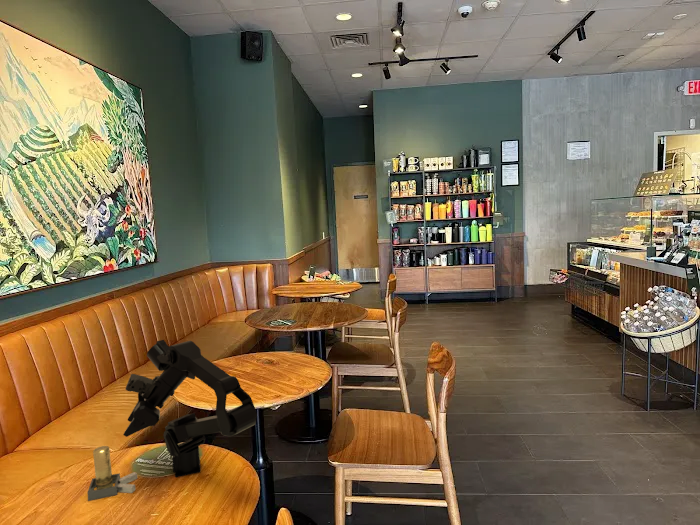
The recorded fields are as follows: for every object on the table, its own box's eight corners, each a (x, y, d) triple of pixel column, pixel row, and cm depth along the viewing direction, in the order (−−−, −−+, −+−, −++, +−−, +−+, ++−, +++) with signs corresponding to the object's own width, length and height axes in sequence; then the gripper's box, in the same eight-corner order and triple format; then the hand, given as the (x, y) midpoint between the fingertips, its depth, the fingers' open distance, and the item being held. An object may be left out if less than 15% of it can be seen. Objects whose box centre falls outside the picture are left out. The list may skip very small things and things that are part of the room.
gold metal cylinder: (114, 485, 118) (111, 444, 117) (111, 493, 114) (107, 452, 113) (99, 487, 117) (95, 447, 116) (95, 496, 113) (91, 454, 112)
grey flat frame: (137, 476, 122) (137, 468, 122) (135, 492, 115) (134, 484, 114) (93, 485, 118) (92, 477, 118) (87, 502, 111) (86, 494, 111)
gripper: (146, 354, 129) (106, 397, 127) (141, 375, 112) (94, 426, 109) (178, 376, 133) (139, 419, 130) (177, 400, 115) (132, 450, 113)
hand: (126, 428), depth 120 cm, fingers open, 9 cm apart
